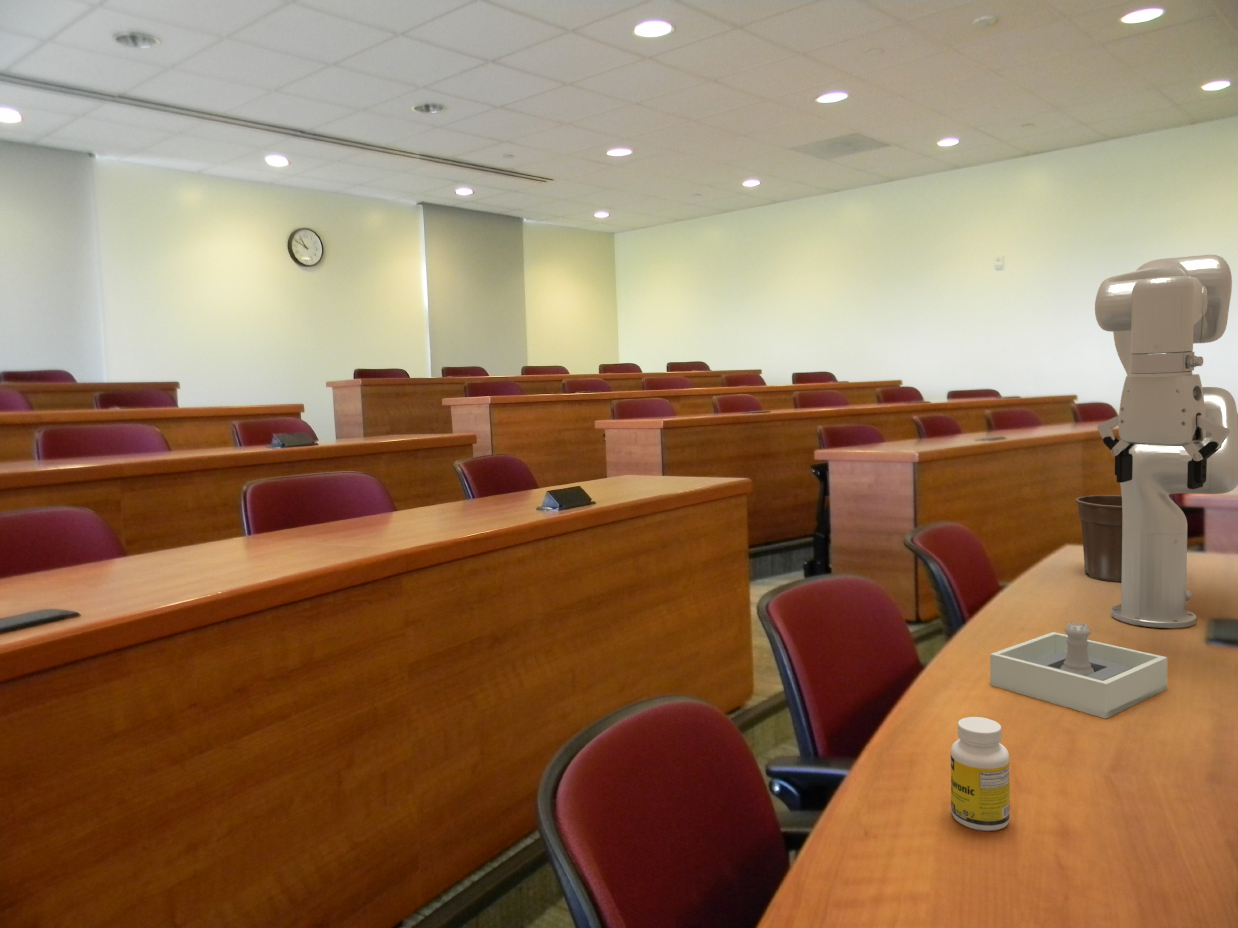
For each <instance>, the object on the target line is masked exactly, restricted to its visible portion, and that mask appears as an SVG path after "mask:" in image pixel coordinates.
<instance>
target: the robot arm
mask: <svg viewBox="0 0 1238 928" xmlns="http://www.w3.org/2000/svg"><path fill="white" fill-rule="evenodd" d="M1231 271H1232V270H1231V268H1230V265H1229V264H1228V262H1227V261H1226V259H1224V257H1222V256H1219V255H1217V254H1202V255H1201V254H1200V255H1192V256H1181V257H1168V258H1160V259H1153V260H1150V261H1148V262H1145V263H1143V264H1141V265H1140V267H1138V268H1137V269H1136V270H1133V271H1131V272H1127V273H1126V272H1125V273H1123V274H1118V275H1115V276H1110V277H1108V278H1106V279H1104V280H1103V281H1102V282H1101V284H1100V285H1099V287H1098V290H1097V293H1096V297H1095V300H1094V301H1095V302H1094V314H1095V319H1096V322H1097V324H1098V326H1099V327H1100V328H1101V329H1102V330H1103V331H1105V332H1112V333H1113V340H1114V346H1115V349H1116V353H1117V356H1118V359H1119V360H1120V363H1121V365H1122V367H1123V368H1124V370H1125V373H1126V376H1125V379H1124V382H1123V387H1122V392H1121V396H1120V402H1119V403H1120V404H1119V410H1118V411H1119V412H1118V415H1116V416H1114V417H1112V418H1110V419H1107V420H1106V421H1103V422H1102V423H1099V424H1098V425H1097V427H1096V428H1097V431H1098V432H1099V435H1100V436H1101V438H1102V442H1103V444H1104V445H1105V446H1106V447H1107V448H1108V449H1109V450H1110V453H1111V455H1112V456H1113V457H1114V475H1115V476H1116V482H1117V483H1119V484H1120V492H1121V493H1120V494H1121V495H1122V582H1121V589H1120V590H1121V594H1120V595H1121V597H1120V598H1121V602H1120V603H1121V604H1116V605H1114V606H1112V607H1111V609H1110V615H1111V616H1112V617H1113V618H1114V619H1116V620H1117V621H1120V622H1123V623H1126V624H1131V625H1134V626H1139V627H1140V626H1141V627H1147V628H1159V629H1180V628H1181V629H1182V628H1188V627H1191V626H1194V625H1196V623H1197V615H1196V614H1195V613H1194V612H1192V611H1189V610H1188V609H1187V607H1186V606H1187V605H1186V603H1187V601H1189V600H1191V599H1192V596H1193V595H1192V592H1191V591H1190V590H1188V589H1187V562H1188V561H1187V559H1188V557H1187V556H1188V520H1187V517H1186V515H1185V513H1184V511H1183V510H1182V509H1181V507H1179V505H1178V504H1176V502H1175V501H1174V500H1173V499H1172V498H1171V497H1170V495H1173V494H1196V495H1197V494H1199V495H1201V494H1202V495H1203V494H1204V495H1216V494H1217V495H1220V494H1221V495H1222V494H1227V493H1228V494H1229V493H1231V492H1232V491H1234V490H1235V489H1236V488H1237V487H1238V410H1237V409H1238V408H1237V405H1236V400H1235V398H1234V396H1233V395H1232V394H1231V392H1230V391H1228V390H1227V389H1224V388H1221V387H1217V386H1215V387H1214V386H1203V385H1202V380H1201V376H1200V374H1198V373H1193V371H1195V368H1197V367H1203V364H1204V358H1203V356H1197V355H1195V351H1194V344H1208V343H1213V342H1216V341H1218V340H1219V339H1221V338H1222V337H1223V335H1224V334H1225V332H1226V329H1227V325H1228V320H1229V311H1230V305H1231V304H1230V303H1231V298H1232V288H1233V280H1232V278H1233V277H1232V272H1231ZM1116 427H1117V428H1118V437H1119V439H1118V438H1117V437H1116V436H1115V434H1114V432H1113V429H1115V428H1116Z"/></svg>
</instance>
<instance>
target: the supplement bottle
mask: <svg viewBox="0 0 1238 928" xmlns="http://www.w3.org/2000/svg"><path fill="white" fill-rule="evenodd" d="M1002 734H1003V733H1002V725H1001V724H1000V723H999V722H998V721H995V720H993V719H990V718H986V717H981V716H968V717H963V718H960V719H959V720H958V722H957V736H958V739H957V740H955V742H953V743H952V745H951V748H950V794H951V795H950V798H951V799H950V804H951V805H950V807H951V814H952V817H953V818H954V819H955V821H956V822H958V823H959V824H961V825H962V826H964V827H966V828H969V829H973V830H977V831H984V832H991V831H998V830H1002V829H1003V828H1006V827H1007V826H1008V825H1009V823H1010V819H1011V818H1010V811H1011V808H1010V807H1011V805H1010V802H1011V801H1010V799H1011V798H1010V797H1011V796H1010V793H1011V791H1010V787H1011V786H1010V785H1011V784H1010V754H1009V751H1008V749H1007V747H1005V746H1004V745H1003V744H1002V743H1001V742H1002V738H1003V737H1002V736H1003V735H1002Z"/></svg>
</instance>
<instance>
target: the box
mask: <svg viewBox="0 0 1238 928" xmlns="http://www.w3.org/2000/svg"><path fill="white" fill-rule="evenodd" d="M1067 640H1068V635H1067V634H1066V633H1065V634H1063V633H1059V632H1055V631H1053V632H1049V633H1046V634H1044V635H1040V636H1037V637H1035V638H1032V639H1029V640H1027V641H1024V642H1020V643H1018V644H1014V645H1013V646H1009V647H1006V648H1003V649H1001V650H1000V649H999V650H998V651H995V652H992V653H990V655H989V657H990V662H989V666H990V668H989V673H990V675H989V676H990V678H989V679H990V683H989V684H990V686H992V687H996V688H998V689H999V688H1000V689H1002V690H1006V691H1010V692H1013V693H1016V694H1019V695H1023V696H1027V697H1030V698H1033V699H1037V700H1040V701H1043V702H1047V703H1050V704H1053V705H1056V706H1057V705H1058V706H1061V707H1064V708H1067V709H1072V710H1075V711H1078V712H1082V713H1084V714H1088V715H1092V716H1094V717H1095V716H1096V717H1098V718H1102V719H1108V718H1110V717H1112V716H1114V715H1116V714H1119V713H1122V712H1123V711H1126V710H1127V709H1129V708H1132V707H1133V706H1135V705H1139V703H1142V702H1144V701H1146V700H1148V699H1150V698H1152V697H1154V696H1156V695H1158V694H1161V693H1162V692H1164V691H1167V690H1168V657H1167V656H1162V655H1159V654H1154V653H1150V652H1144V651H1141V650H1140V651H1139V650H1136V649H1132V648H1128V647H1127V648H1126V647H1122V646H1117V645H1114V644H1108V643H1105V642H1099V641H1096V640H1091V639H1087V641H1088V642H1089V644H1088V645H1087V652H1088V659H1089V663H1090V664H1091V667H1092V668H1093V670H1094V673H1092V674H1089V675H1087V676H1086V675H1082V674H1078V673H1074V672H1070V671H1066V670H1062V669H1060V668H1061V666H1062V665H1063V664H1064V661H1065V659H1066V656H1067V649H1068V644H1067V642H1066V641H1067Z"/></svg>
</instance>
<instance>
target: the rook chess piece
mask: <svg viewBox="0 0 1238 928" xmlns="http://www.w3.org/2000/svg"><path fill="white" fill-rule="evenodd" d="M1064 632H1065V635H1068V640H1067V641H1066V642H1067V644H1068V649H1067V656H1066V659H1065V661H1064V664H1063V665H1062V666H1061V668H1060V669H1062V670H1066V671H1070V672H1074V673H1078V674H1082V675H1086V676H1087V675H1089V674H1092V673H1094V670H1093V668H1092V667H1091V664H1090V663H1089V659H1088V652H1087V645H1088V644H1089V642H1088V641H1087V640H1088V638H1089V636H1090V635H1091V634H1092V632H1091V630H1090V629H1089V625H1088V624H1086V623H1085V624H1084V623H1082V622H1078V625H1076V622H1074V621H1073V622H1071V623H1070V622H1068V623H1067V626H1066V628H1065V629H1064Z"/></svg>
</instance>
